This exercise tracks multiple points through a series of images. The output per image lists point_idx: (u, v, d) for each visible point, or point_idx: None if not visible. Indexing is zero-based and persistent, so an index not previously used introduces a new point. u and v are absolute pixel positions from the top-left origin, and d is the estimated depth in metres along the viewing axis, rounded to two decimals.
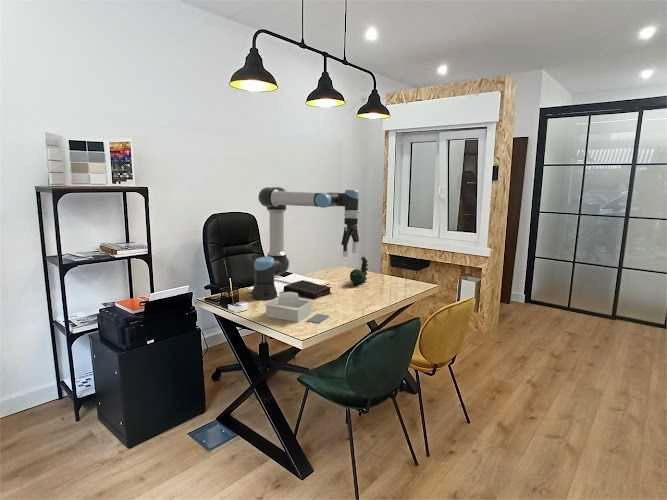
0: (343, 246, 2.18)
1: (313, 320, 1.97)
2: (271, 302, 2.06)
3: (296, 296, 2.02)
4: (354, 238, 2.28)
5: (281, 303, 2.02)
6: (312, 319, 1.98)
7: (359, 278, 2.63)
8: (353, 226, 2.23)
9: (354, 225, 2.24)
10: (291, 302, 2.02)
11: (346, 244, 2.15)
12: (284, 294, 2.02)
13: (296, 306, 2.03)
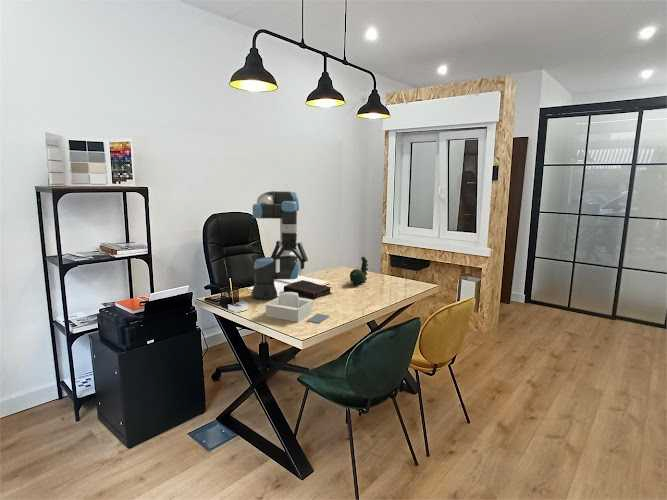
0: None
1: (313, 320, 1.97)
2: (271, 302, 2.06)
3: (296, 296, 2.02)
4: None
5: (281, 303, 2.02)
6: (312, 319, 1.98)
7: (359, 278, 2.63)
8: (290, 242, 1.97)
9: (292, 242, 1.97)
10: (291, 302, 2.02)
11: (273, 258, 2.03)
12: (284, 294, 2.02)
13: (296, 306, 2.03)
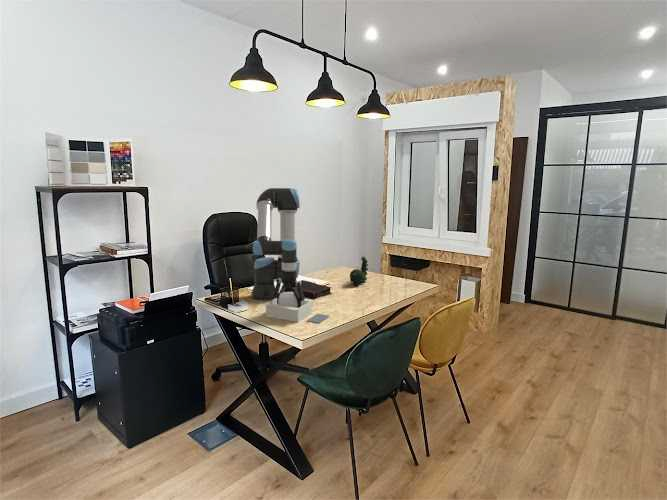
0: None
1: (313, 320, 1.97)
2: (271, 302, 2.06)
3: None
4: None
5: (281, 303, 2.02)
6: (312, 319, 1.98)
7: (359, 278, 2.63)
8: (290, 279, 2.01)
9: (292, 279, 2.00)
10: (291, 302, 2.02)
11: (276, 297, 2.06)
12: (284, 294, 2.02)
13: None
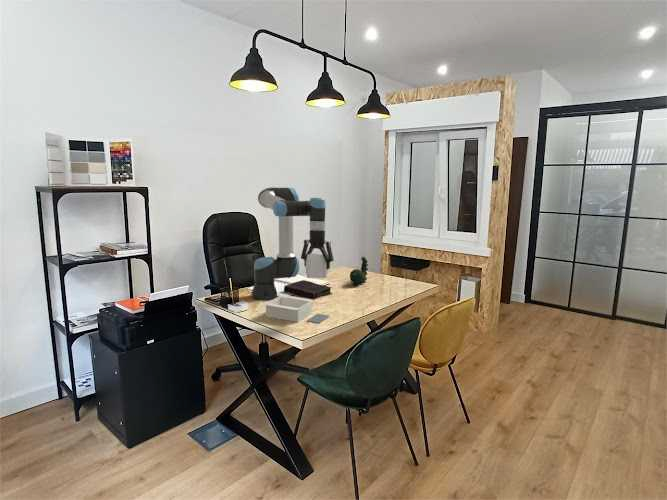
0: None
1: (313, 320, 1.97)
2: (271, 302, 2.06)
3: None
4: None
5: (309, 264, 1.94)
6: (312, 319, 1.98)
7: (359, 278, 2.63)
8: (318, 239, 1.92)
9: (321, 239, 1.92)
10: (320, 263, 1.94)
11: (304, 259, 1.97)
12: (312, 255, 1.94)
13: (324, 268, 1.95)
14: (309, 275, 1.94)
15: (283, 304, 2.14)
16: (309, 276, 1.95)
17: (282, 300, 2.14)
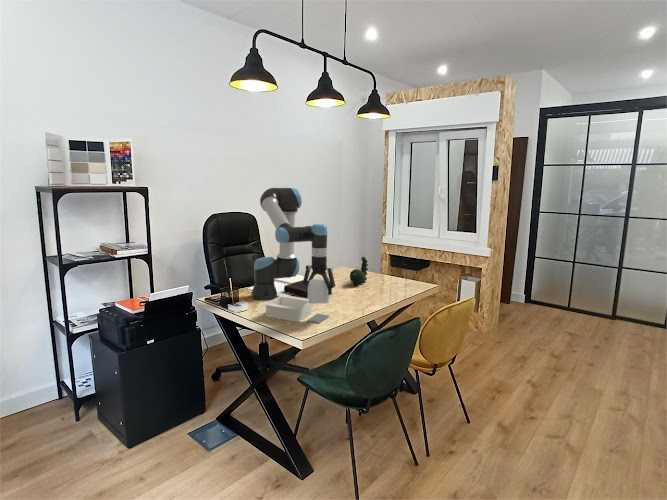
0: None
1: (313, 320, 1.97)
2: (271, 302, 2.06)
3: None
4: None
5: (311, 290, 1.96)
6: (312, 319, 1.98)
7: (359, 278, 2.63)
8: (320, 265, 1.94)
9: (323, 265, 1.94)
10: (322, 288, 1.96)
11: (305, 284, 2.00)
12: (314, 281, 1.96)
13: None
14: (311, 300, 1.97)
15: (283, 304, 2.14)
16: (311, 301, 1.97)
17: (282, 300, 2.14)
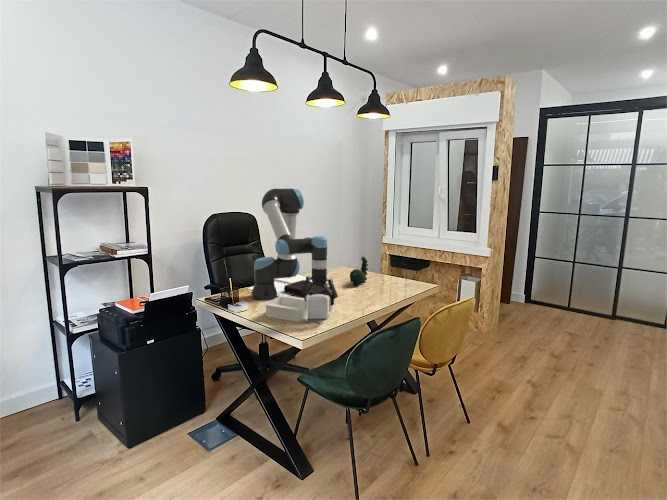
0: None
1: (313, 320, 1.97)
2: (271, 302, 2.06)
3: (326, 299, 1.98)
4: None
5: (310, 306, 1.97)
6: (312, 319, 1.98)
7: (359, 278, 2.63)
8: (320, 278, 1.96)
9: (323, 277, 1.95)
10: (321, 304, 1.98)
11: (304, 294, 2.01)
12: (313, 296, 1.97)
13: (325, 309, 1.98)
14: (310, 316, 1.98)
15: (283, 304, 2.14)
16: (310, 317, 1.98)
17: (282, 300, 2.14)
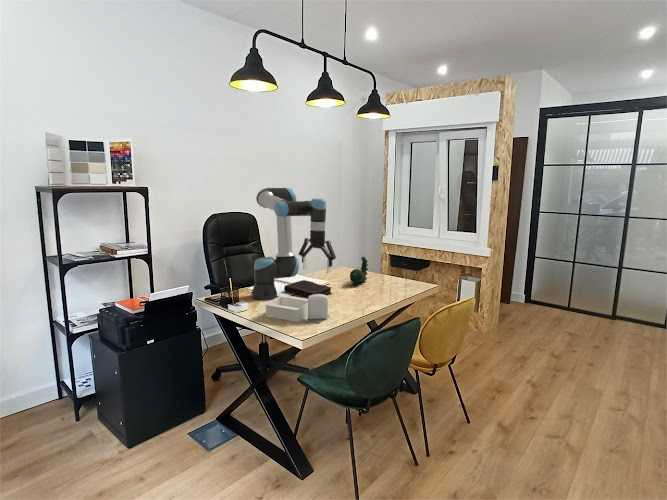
0: None
1: (313, 320, 1.97)
2: (271, 302, 2.06)
3: (326, 299, 1.98)
4: None
5: (310, 306, 1.97)
6: (312, 319, 1.98)
7: (359, 278, 2.63)
8: (318, 240, 1.98)
9: (321, 239, 1.97)
10: (321, 304, 1.98)
11: (301, 255, 2.03)
12: (313, 296, 1.97)
13: (325, 309, 1.98)
14: (310, 316, 1.98)
15: (283, 304, 2.14)
16: (310, 317, 1.98)
17: (282, 300, 2.14)
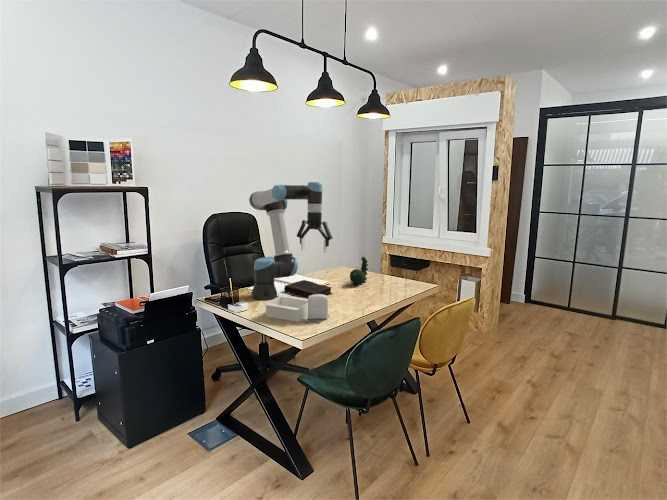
0: None
1: (313, 320, 1.97)
2: (271, 302, 2.06)
3: (326, 299, 1.98)
4: None
5: (310, 306, 1.97)
6: (312, 319, 1.98)
7: (359, 278, 2.63)
8: (315, 221, 2.08)
9: (318, 220, 2.07)
10: (321, 304, 1.98)
11: (299, 237, 2.13)
12: (313, 296, 1.97)
13: (325, 309, 1.98)
14: (310, 316, 1.98)
15: (283, 304, 2.14)
16: (310, 317, 1.98)
17: (282, 300, 2.14)
